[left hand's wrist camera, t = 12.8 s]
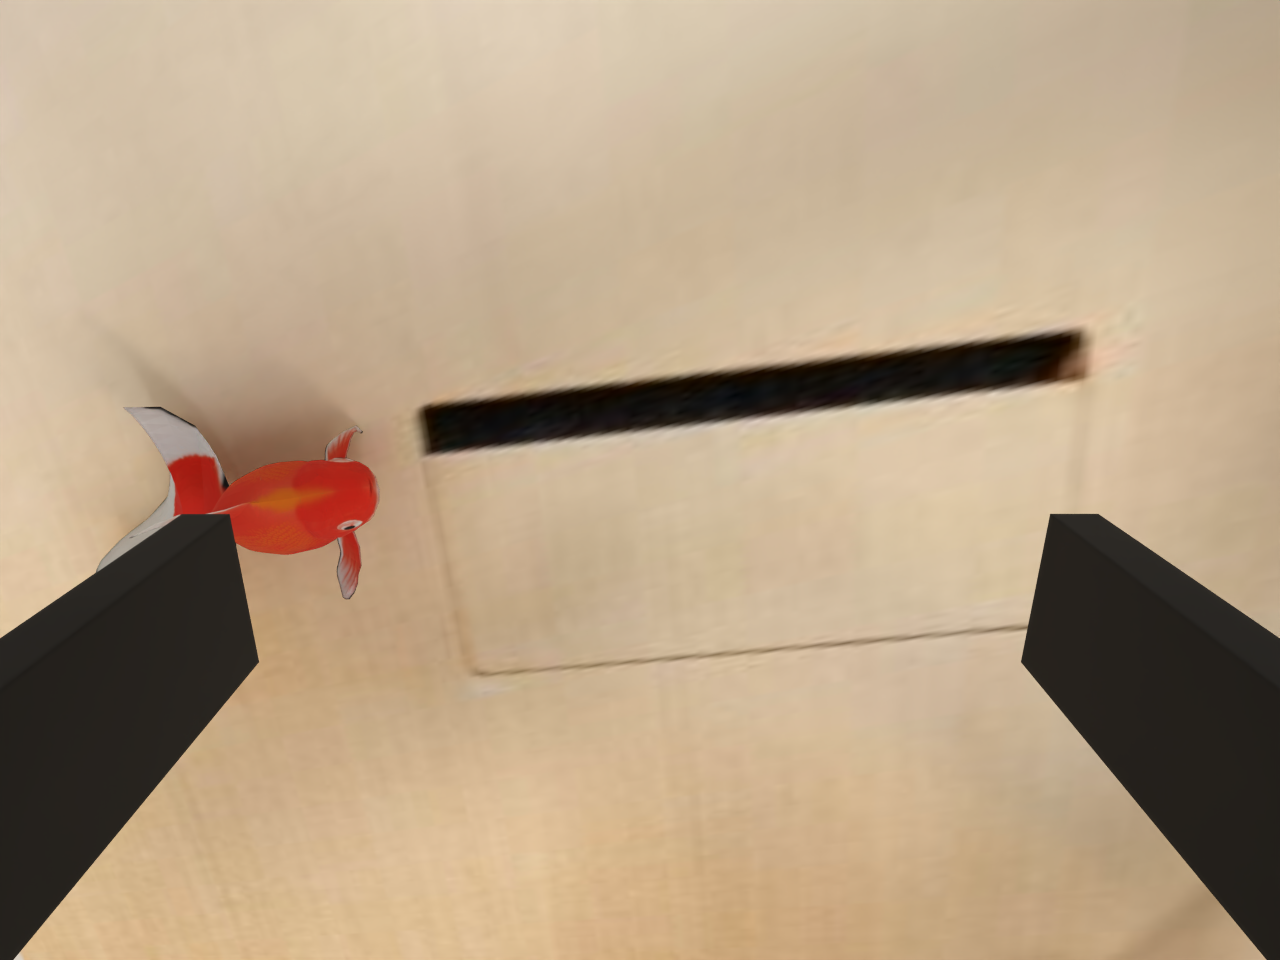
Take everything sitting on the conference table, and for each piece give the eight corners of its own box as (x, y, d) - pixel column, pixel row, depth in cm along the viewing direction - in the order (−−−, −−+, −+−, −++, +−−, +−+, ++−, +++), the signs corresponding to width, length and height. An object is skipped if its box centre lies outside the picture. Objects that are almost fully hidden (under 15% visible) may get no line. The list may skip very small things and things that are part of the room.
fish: (429, 660, 37) (244, 714, 27) (208, 603, 43) (-1, 630, 34) (453, 435, 36) (273, 414, 27) (227, 411, 43) (21, 387, 34)
